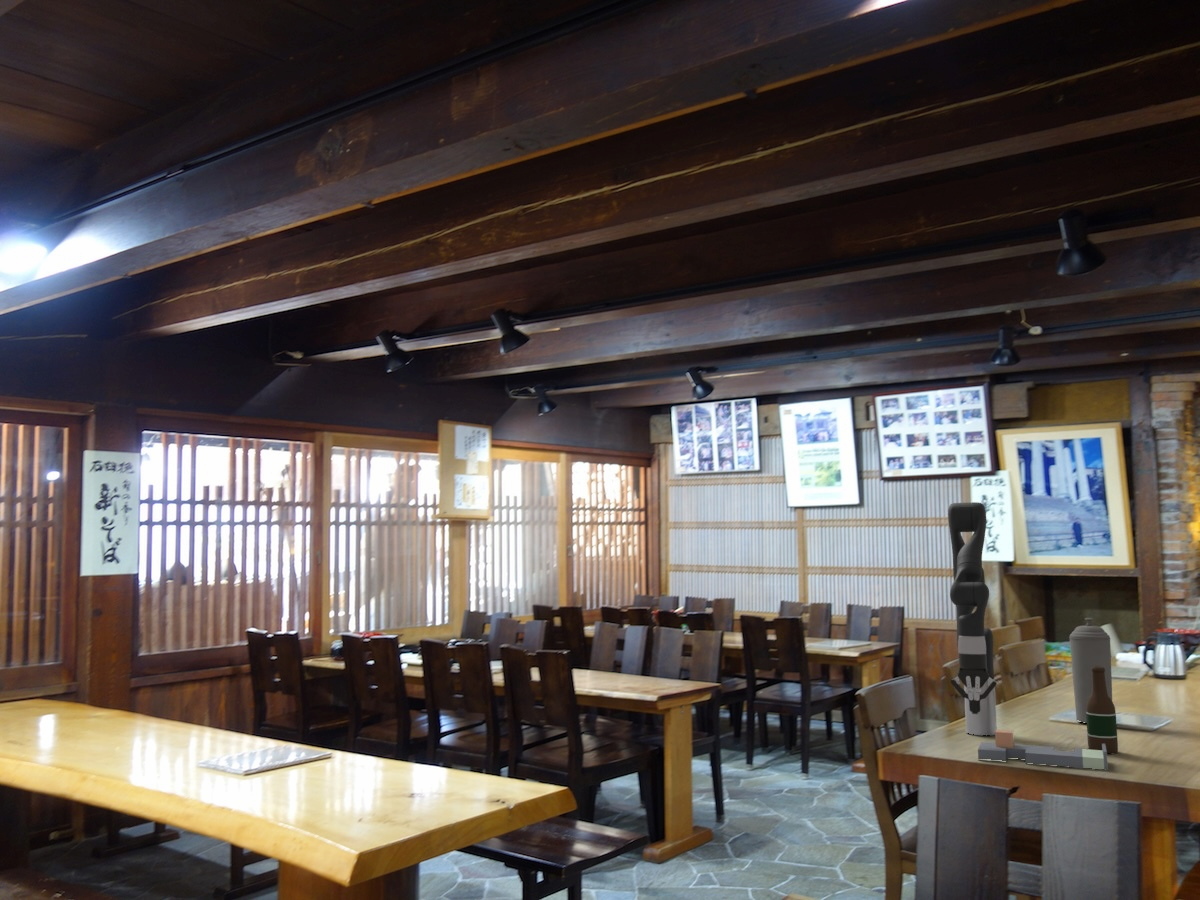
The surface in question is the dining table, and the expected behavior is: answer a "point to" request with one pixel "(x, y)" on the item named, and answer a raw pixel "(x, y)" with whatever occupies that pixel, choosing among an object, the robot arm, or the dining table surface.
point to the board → (1046, 755)
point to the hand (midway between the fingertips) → (975, 713)
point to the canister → (1088, 662)
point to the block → (1004, 738)
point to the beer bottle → (1101, 715)
